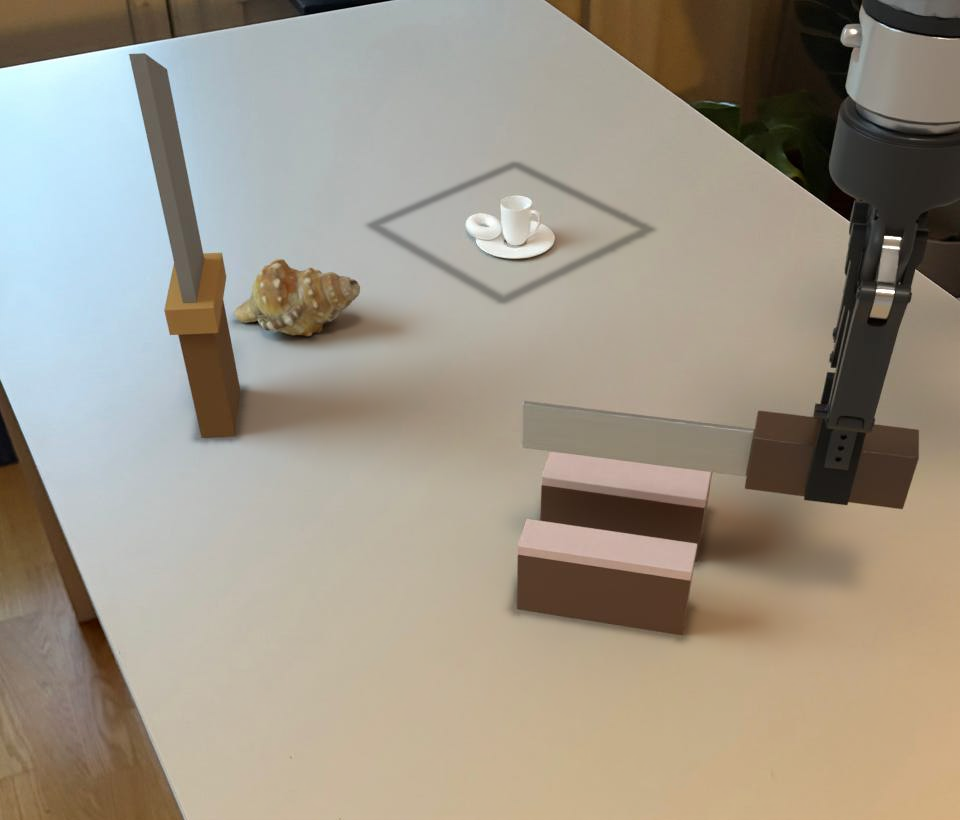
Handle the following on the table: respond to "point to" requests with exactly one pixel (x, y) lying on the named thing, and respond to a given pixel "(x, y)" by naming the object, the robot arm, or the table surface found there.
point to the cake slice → (604, 576)
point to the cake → (625, 497)
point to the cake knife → (727, 448)
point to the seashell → (296, 299)
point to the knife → (189, 263)
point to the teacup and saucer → (511, 230)
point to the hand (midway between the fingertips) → (827, 480)
